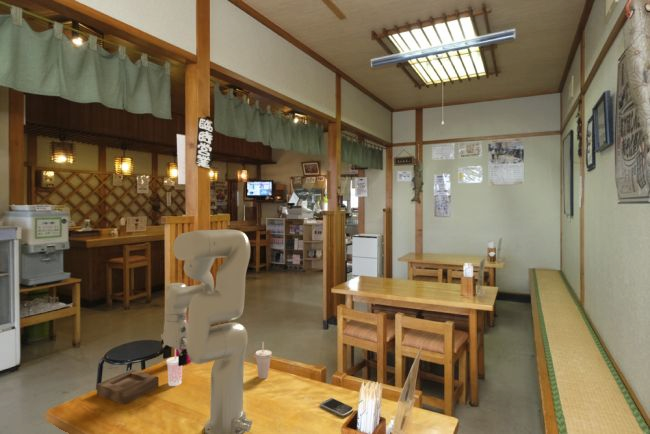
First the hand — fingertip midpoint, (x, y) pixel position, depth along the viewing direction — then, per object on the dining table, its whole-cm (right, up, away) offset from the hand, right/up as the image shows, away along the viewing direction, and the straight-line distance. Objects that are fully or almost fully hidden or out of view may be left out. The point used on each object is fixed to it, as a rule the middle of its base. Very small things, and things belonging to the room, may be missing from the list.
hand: (174, 361), depth 144 cm
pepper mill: (-4, -8, +19) cm, 21 cm away
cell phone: (+61, -11, -16) cm, 63 cm away
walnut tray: (-14, -9, -7) cm, 18 cm away
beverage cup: (0, -8, 0) cm, 8 cm away
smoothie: (+32, -9, +7) cm, 34 cm away
